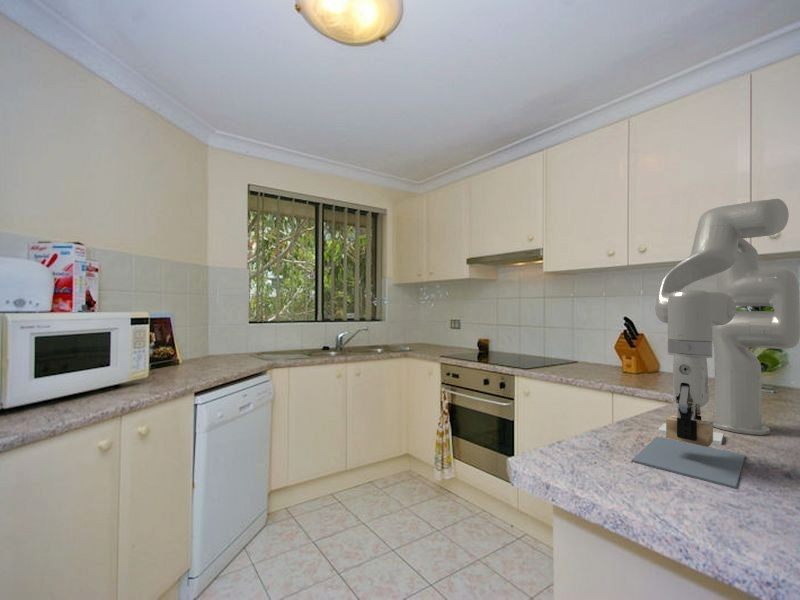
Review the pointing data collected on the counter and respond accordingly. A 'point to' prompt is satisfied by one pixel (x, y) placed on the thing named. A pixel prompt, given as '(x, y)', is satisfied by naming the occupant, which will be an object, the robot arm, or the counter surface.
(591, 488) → the counter surface
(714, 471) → the mat
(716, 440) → the external hard drive
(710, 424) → the taped cardboard box
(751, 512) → the counter surface
